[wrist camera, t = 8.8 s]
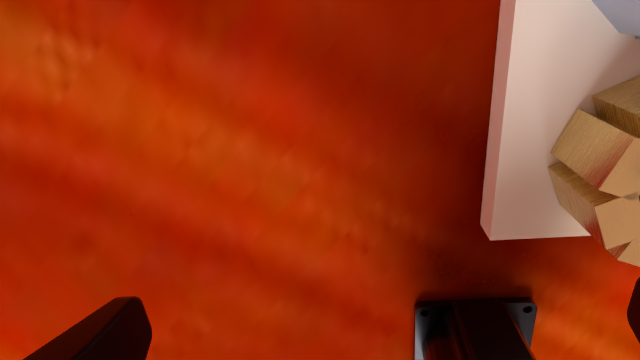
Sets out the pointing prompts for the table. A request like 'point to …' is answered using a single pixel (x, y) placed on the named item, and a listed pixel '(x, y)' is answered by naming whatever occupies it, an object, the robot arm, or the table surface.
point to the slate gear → (622, 15)
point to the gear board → (544, 107)
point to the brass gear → (604, 170)
